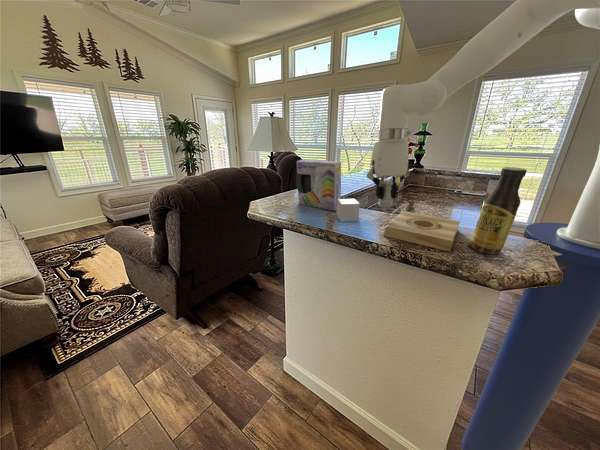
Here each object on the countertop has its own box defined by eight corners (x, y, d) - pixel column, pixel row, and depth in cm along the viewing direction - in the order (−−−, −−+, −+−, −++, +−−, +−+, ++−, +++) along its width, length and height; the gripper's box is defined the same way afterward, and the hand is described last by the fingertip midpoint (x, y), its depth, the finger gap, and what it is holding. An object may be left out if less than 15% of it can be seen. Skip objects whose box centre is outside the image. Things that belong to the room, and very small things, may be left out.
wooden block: (400, 219, 78) (402, 210, 77) (457, 230, 69) (459, 220, 68) (384, 236, 66) (385, 226, 65) (449, 251, 57) (452, 240, 56)
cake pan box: (295, 203, 98) (294, 159, 91) (303, 200, 101) (303, 158, 95) (333, 212, 86) (335, 163, 79) (341, 209, 89) (343, 161, 83)
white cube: (340, 221, 77) (341, 204, 75) (336, 215, 83) (337, 199, 81) (358, 220, 78) (359, 203, 76) (353, 214, 83) (354, 198, 81)
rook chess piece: (375, 205, 75) (377, 180, 72) (383, 202, 78) (385, 178, 75) (387, 208, 72) (390, 182, 69) (395, 205, 74) (398, 180, 71)
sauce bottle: (463, 246, 60) (485, 166, 52) (481, 242, 61) (504, 165, 54) (490, 258, 54) (519, 171, 46) (509, 253, 56) (539, 169, 48)
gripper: (411, 134, 71) (404, 193, 78) (359, 136, 69) (356, 196, 76) (427, 134, 64) (417, 199, 71) (369, 137, 63) (365, 203, 69)
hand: (386, 197), depth 74 cm, fingers closed on rook chess piece, 3 cm apart
